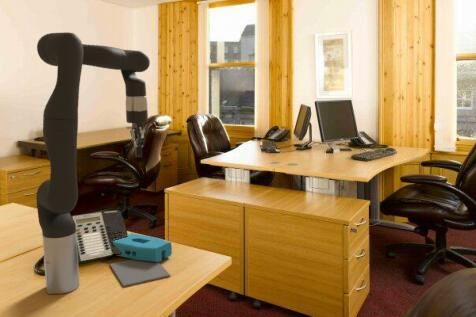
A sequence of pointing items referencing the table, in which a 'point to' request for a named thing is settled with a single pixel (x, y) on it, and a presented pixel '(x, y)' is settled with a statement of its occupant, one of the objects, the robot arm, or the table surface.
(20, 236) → the table surface
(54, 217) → the robot arm
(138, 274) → the mat
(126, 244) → the block
